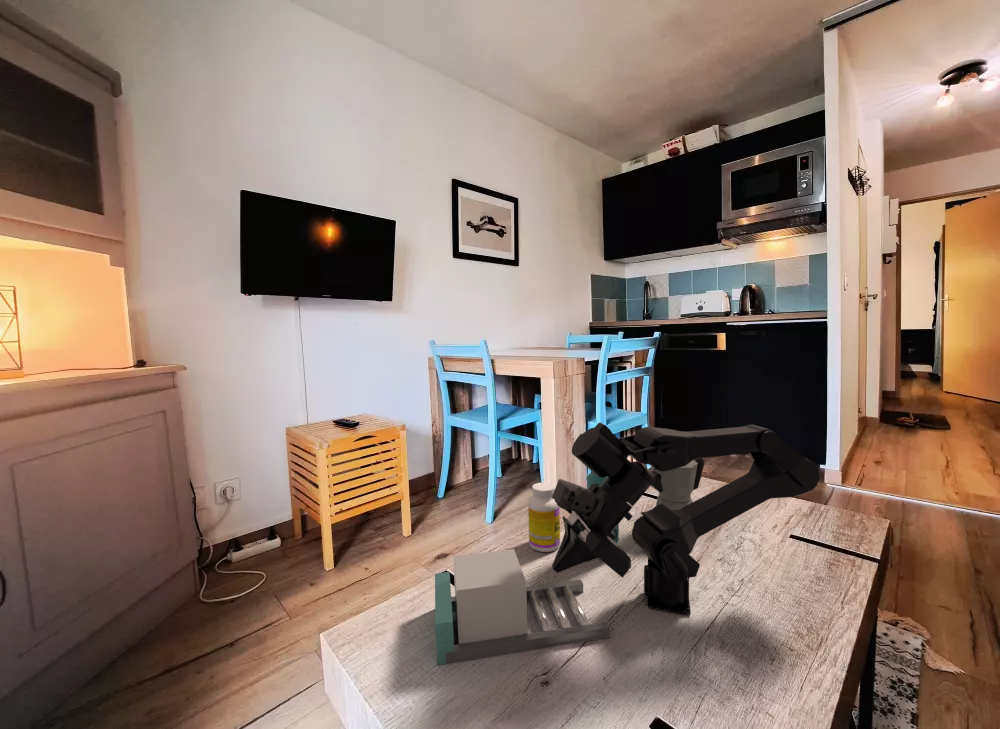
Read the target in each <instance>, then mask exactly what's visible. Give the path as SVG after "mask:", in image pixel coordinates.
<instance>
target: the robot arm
mask: <svg viewBox="0 0 1000 729" xmlns="http://www.w3.org/2000/svg"><path fill="white" fill-rule="evenodd" d="M636 432H637V433H636V434H635V433H634V434H630V435H627V436H622V437H619V438H618V437H617V436H616V434H614V432H612V430H611V429H610V428H609V427H608V426H607V425H606V424H604V423H603V422H598V423H597V424H596V425H595V426H593V427H590V428H589V429H587V430H585V431H584V432H583V433H580V434H579V436H578V437H577V438H576V439H575V441H574V442H573V445H572V446H571V453H572V456H574V458H576V459H577V460H578V461H580V462H581V463H582V464H583V465H584V466H585V467H586V468H587V469H589V471H591V472H593V473H594V474H595V475H597V476H598V477H600V478H603V477H607V476H608V477H607V478H606V479H605V480H604V482H605V483H606V484H607V485H606V484H605V483H604V482H603V483H602V484H601V485H600V486H598V485H597V484H596V483H595V484H592V485H591V486H590V487H589V488H588V489H587V487H584V486H582V485H578V484H576V483H574V482H570V481H567V480H564V479H561V478H559V479H558V481H557V483H556V485H555V487H554V489H555V490H554V493H553V495H552V498H553V499H555V500H554V501H555V502H556V503H557V505H558V506H559V507H560V509H561V510H564V511H566V512H567V513H569V515H568V517H567V518H566V517H565V516H564V515H563V516H562V521H563V526H564V535H563V537H562V539H561V541H560V546H559V547H558V549H557V552H556V554H555V557H554V559H553V562H552V564H551V568H552V571H554V572H555V573H557V574H558V573H561V572H563V571H566V570H568V569H571V568H574V567H576V566H578V565H581V564H584V563H588V562H590V561H594V560H597V559H599V560H600V561H602V563H604V564H605V565H606V566H607V567H608V568H609V569H611V570H612V571H614V573H616V574H618V576H619V577H621V578H624V576H625V575H626V574H627V573H628V572H629V570H630V569H631V568H632V558H631V557H630V555H629V554H627V552H626V551H625V550H624V549H623V547H621V545H619V543H618V544H617V543H616V542H615V541H613V540H614V538H615V537H616V536H615V535H614V534H613V533H612V531H613V530H614V529H615V528H616V526H617V525H618V524H620V523H621V522H622V520H624V518H625V519H626V520H627V521H628V522H630V521H631V520H632V518H633V514H632V513H630V511H631V510H632V508H633V507H634V506H635V505H636V503H638V501H640V499H641V497H642V496H644V494H645V493H646V492H647V490H649V488H650V487H651V488H653V489H655V491H656V492H658V493H659V492H660V493H661V492H663V486H662V482H661V477H662V475H661V474H659V473H657V472H656V471H654V470H649V469H648V468H647V467H646V466H644V465H649V466H650V467H651V466H652V467H654V468H656V469H657V470H660V471H670V470H673V469H677V468H680V467H684V466H686V465H687V464H689V463H690V462H691V461H693V460H696V459H699V458H702V459H708V458H716V457H726V456H737V455H745V454H748V455H749V458H751V460H753V461H752V463H751V466H750V468H749V470H748V472H747V473H746V474H743V475H742V476H740V477H738V478H736V479H734V480H733V481H730V482H729V483H727V484H725V485H723V486H721V487H719V488H717V489H716V490H714V491H711V492H710V493H708V494H706V495H704V496H702V497H700V498H698V499H697V500H694V501H693V502H692V503H691V504H689V505H687V506H685V507H683V508H681V509H679V510H670V509H669V508H668V507H666V506H665V505H664V504H659V505H657V506H656V505H655V506H654V507H652V508H651V509H650V510H647V511H641V512H640V515H641V516H639V517H638V518H637V519H635V521H634V522H633V525H632V526H633V527H632V530H631V536H632V540H633V542H634V543H635V545H637V547H638V548H639V549H640V550H641V552H642V554H644V555H645V556H646V558H647V564H645V565H644V566H643V595H644V596H645V597H646V607H647V608H650V609H655V610H661V611H666V612H672V613H675V614H682V615H686V616H690V615H691V614H692V613H691V603H690V578H691V579H692V578H696V577H697V575H698V572H699V569H700V566H701V565H700V563H699V562H698V561H697V560H696V559H695V558H693V556H692V555H690V554H691V553H692V551H693V549H694V547H695V545H696V543H697V541H698V539H699V538H700V537H702V536H704V535H706V534H707V533H710V532H711V531H713V530H715V529H717V528H719V527H721V526H723V525H724V524H727V522H729V521H732V520H733V519H736V518H737V517H739V516H741V515H742V514H745V513H746V512H749V511H750V510H752V509H754V508H756V507H757V506H760V505H761V504H763V503H766V501H768V500H771V499H786V498H787V499H788V498H790V499H791V498H795V497H798V496H802V495H804V494H808V493H810V492H813V491H814V489H815V488H816V487H817V486H818V484H819V482H820V478H821V476H820V472H819V468H818V465H817V464H816V463H815V462H814V461H813V459H809V458H806V456H804V455H803V454H802V453H800V451H798V450H796V449H795V448H794V447H792V446H790V445H789V443H787V442H785V441H784V440H783V439H781V437H780V436H779V435H778V434H776V432H774V431H773V430H772V429H769V428H767V427H766V428H765V427H763V426H760V425H759V426H758V425H755V424H746V425H743V426H737V427H725V428H723V427H722V428H714V429H713V428H712V429H703V430H701V429H700V430H690V431H684V430H683V431H681V430H675V429H670V428H666V427H665V428H662V427H654V426H644V427H642V428H639V429H638V430H637V431H636ZM629 457H630V458H632V459H634V460H636V461H630V460H629V459H628V458H629Z"/></svg>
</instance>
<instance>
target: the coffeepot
mask: <svg viewBox="0 0 1000 729" xmlns="http://www.w3.org/2000/svg"><path fill="white" fill-rule="evenodd" d="M704 467H705V460H704V458H699V459H696V460H693V461H691V462H690V463H689V464H687V465H686V466H684V467H680V468H677V469H673V470H670V471H660V470H657V469H656V468H654V467H652V466H651V465H650V469H651V471H656V472H657V473H659V474H661V475H662V477H661V482H662V486H663V492H661V493H660V492H658V496H657V497H656V498H657V499H656V503H655V506H657V505H659V504H664V505H665V506H666V507H668V508H669V509H670V510H679V509H681V508H683V507H685V506H687V505H689V504H691V503H692V502H694V501H693V499H692V497H691V496H692V495H691V494H692V493H693V491H694V490H697V489H699V487H700V486H699V485H700V482H701V480H702V474H703V470H704Z"/></svg>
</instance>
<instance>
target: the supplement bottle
mask: <svg viewBox="0 0 1000 729" xmlns="http://www.w3.org/2000/svg"><path fill="white" fill-rule="evenodd" d="M531 490H532V491H531V492H532V496H531V497H530V498H529V499H528V502H527V508H528V510H527V512H528V514H527V515H528V518H527V519H528V543H529V546H530V548H532V549H533V550H535V551H537V552H543V553H549V552H553V551H556V550H558V549H559V547H560V545H561V517H560V516H561V512H560V509H561V508H560V507H559V506H558V505H557V503H556V502H555V501H554V500H555V499H553V498H552V495H553V493H554V490H555V485H554V484H552V483H549V482H537V483H534V484H532V488H531Z"/></svg>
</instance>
